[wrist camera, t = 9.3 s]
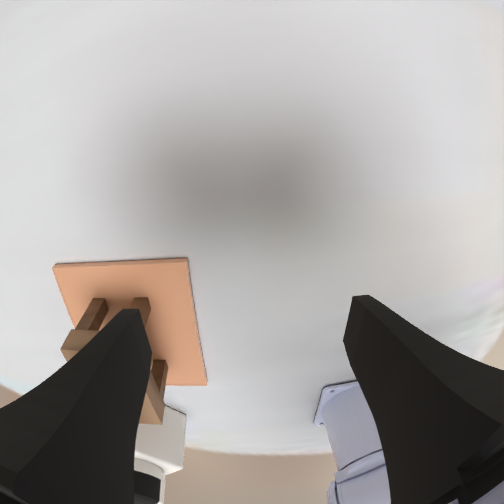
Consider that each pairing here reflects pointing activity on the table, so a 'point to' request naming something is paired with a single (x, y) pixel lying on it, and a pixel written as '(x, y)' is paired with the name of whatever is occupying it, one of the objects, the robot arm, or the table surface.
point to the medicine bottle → (158, 456)
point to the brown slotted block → (158, 373)
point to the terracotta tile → (161, 302)
